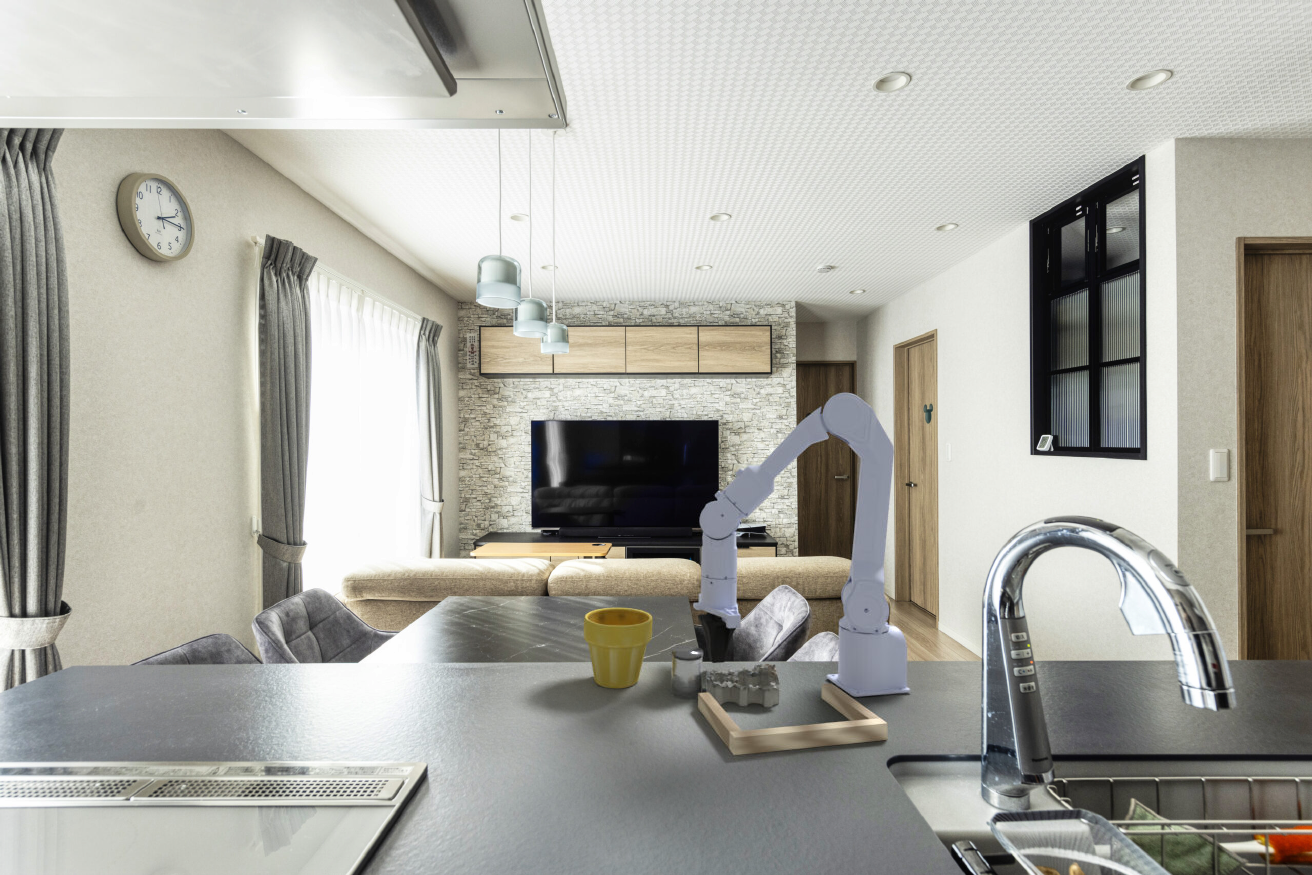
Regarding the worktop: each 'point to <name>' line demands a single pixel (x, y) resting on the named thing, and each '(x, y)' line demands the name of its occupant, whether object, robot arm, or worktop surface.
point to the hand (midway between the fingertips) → (717, 661)
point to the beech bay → (798, 727)
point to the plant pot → (617, 644)
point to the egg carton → (745, 685)
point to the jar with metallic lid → (686, 672)
